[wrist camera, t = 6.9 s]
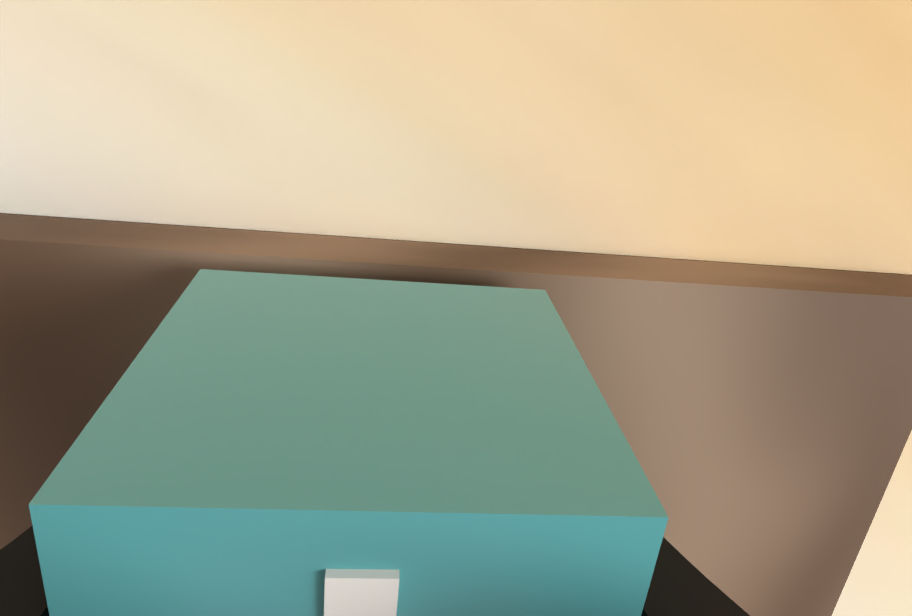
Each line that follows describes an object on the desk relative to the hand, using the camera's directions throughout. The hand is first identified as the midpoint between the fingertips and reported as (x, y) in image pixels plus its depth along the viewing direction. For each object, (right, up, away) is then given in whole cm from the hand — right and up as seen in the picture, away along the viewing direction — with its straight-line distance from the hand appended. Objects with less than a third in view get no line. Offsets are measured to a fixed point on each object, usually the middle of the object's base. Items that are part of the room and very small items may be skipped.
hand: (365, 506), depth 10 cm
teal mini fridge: (0, +1, +1) cm, 1 cm away
